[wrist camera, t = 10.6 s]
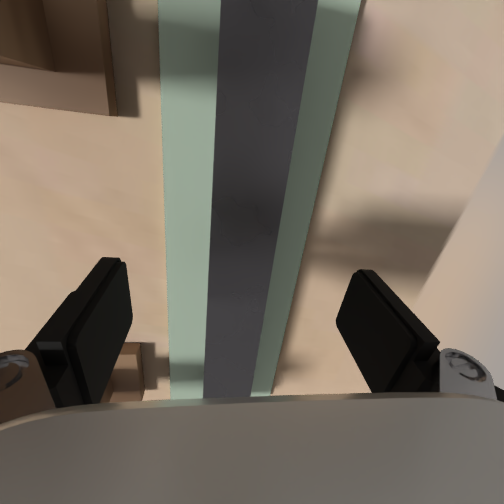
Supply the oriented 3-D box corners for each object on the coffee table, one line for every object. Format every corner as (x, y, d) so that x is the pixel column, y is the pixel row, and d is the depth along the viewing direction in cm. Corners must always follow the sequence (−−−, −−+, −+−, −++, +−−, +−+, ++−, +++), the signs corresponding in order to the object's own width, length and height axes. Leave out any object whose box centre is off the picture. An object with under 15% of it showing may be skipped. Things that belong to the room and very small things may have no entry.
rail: (222, -14, 10) (223, -63, 7) (297, 2, 10) (325, -40, 8) (203, 393, 20) (201, 434, 18) (241, 392, 21) (244, 432, 18)
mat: (158, -62, 9) (155, -68, 9) (360, -15, 11) (365, -20, 10) (171, 397, 21) (170, 402, 20) (268, 394, 22) (269, 399, 22)
